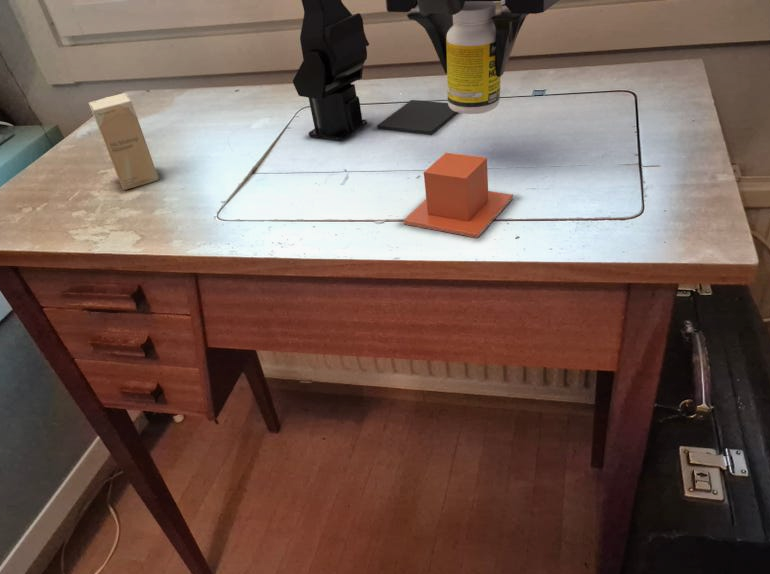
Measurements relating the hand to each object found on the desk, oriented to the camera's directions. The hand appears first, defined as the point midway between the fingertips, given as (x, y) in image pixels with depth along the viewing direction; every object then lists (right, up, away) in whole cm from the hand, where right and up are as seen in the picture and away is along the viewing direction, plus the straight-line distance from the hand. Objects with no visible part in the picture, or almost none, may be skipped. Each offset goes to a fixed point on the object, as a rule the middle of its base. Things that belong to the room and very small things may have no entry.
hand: (473, 74), depth 76 cm
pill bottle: (0, -3, +3) cm, 4 cm away
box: (-45, -8, +16) cm, 48 cm away
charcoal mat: (-5, +2, +19) cm, 20 cm away
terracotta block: (-2, -16, -3) cm, 17 cm away
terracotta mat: (-2, -17, -3) cm, 17 cm away
